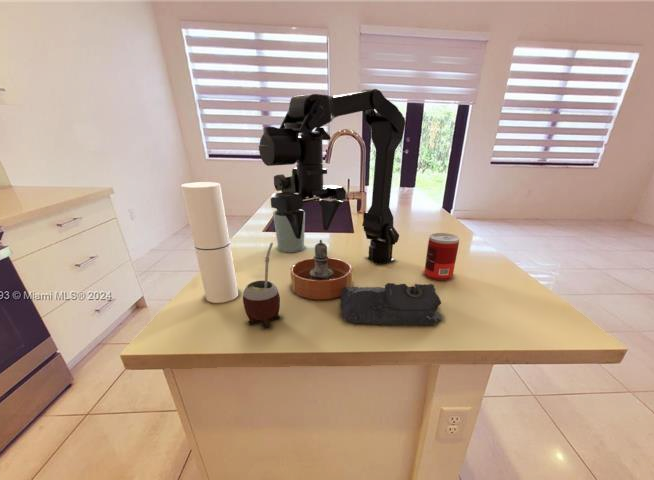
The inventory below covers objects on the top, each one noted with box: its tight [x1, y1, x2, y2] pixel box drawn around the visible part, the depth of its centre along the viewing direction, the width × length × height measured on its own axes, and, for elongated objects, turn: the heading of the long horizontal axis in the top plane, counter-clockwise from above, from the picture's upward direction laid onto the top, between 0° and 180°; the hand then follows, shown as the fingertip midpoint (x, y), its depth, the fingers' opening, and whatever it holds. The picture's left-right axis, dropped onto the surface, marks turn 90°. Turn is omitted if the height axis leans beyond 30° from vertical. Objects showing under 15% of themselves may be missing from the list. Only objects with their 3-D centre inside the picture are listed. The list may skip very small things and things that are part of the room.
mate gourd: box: [242, 242, 281, 329], centre depth 62 cm, size 8×8×15 cm
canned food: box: [424, 232, 460, 281], centre depth 85 cm, size 8×8×11 cm
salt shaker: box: [310, 239, 333, 280], centre depth 77 cm, size 6×6×12 cm
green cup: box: [272, 209, 306, 253], centre depth 102 cm, size 10×10×12 cm
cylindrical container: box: [180, 181, 239, 304], centre depth 68 cm, size 7×7×25 cm
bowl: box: [289, 257, 353, 300], centre depth 78 cm, size 15×15×5 cm
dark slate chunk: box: [339, 282, 443, 327], centre depth 70 cm, size 15×22×5 cm
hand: (312, 234), depth 75 cm, fingers open, 9 cm apart
